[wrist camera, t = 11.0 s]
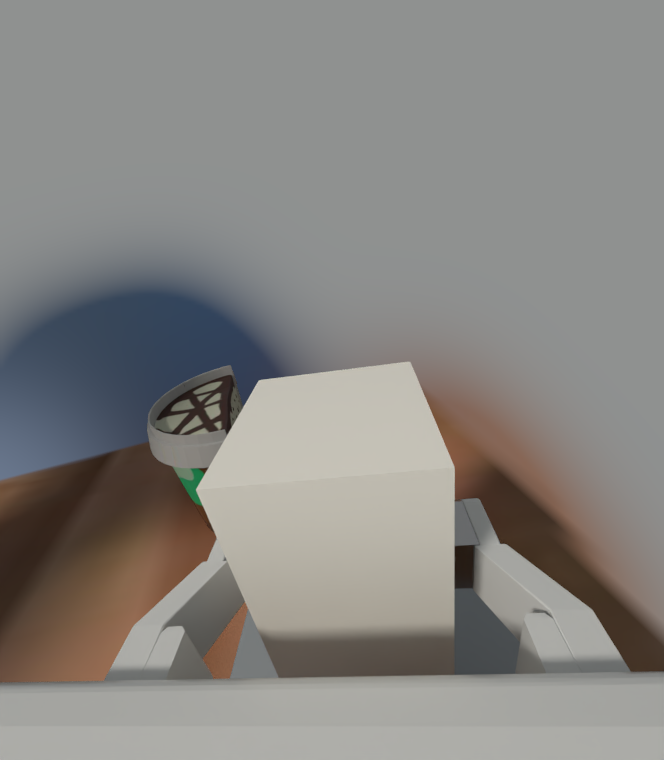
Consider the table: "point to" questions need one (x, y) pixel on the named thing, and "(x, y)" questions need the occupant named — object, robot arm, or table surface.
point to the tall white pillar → (340, 523)
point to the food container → (194, 426)
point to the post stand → (471, 643)
